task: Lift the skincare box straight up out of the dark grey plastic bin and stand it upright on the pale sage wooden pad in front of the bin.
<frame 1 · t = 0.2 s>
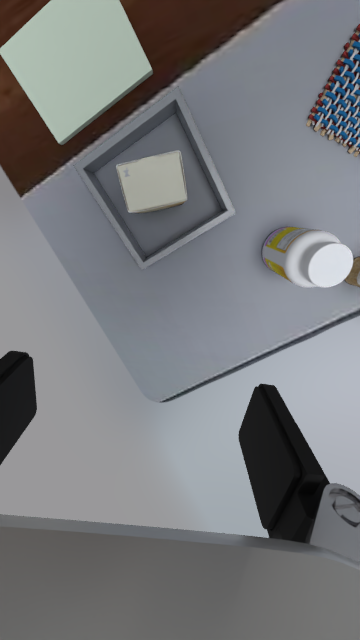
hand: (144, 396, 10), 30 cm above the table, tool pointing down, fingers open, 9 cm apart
sprinkles bottle: (356, 270, 39), on the table
woven mat: (359, 101, 31), on the table
skincare box: (159, 192, 35), resting in bin
bin: (159, 192, 34), on the table
pad: (79, 64, 29), on the table
supplement bottle: (282, 249, 38), on the table
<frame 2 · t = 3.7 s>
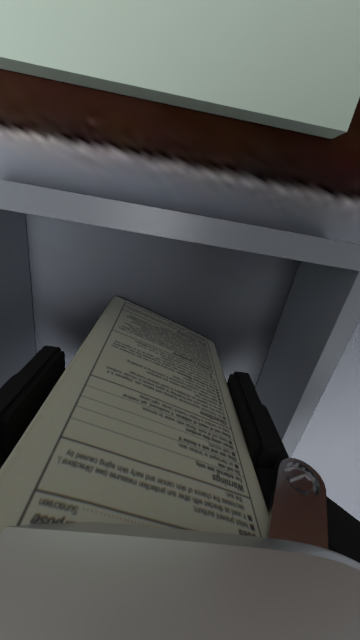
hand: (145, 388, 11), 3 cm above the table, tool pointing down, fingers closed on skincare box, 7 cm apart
skincare box: (153, 348, 14), resting in bin, touching gripper
bin: (152, 349, 14), on the table
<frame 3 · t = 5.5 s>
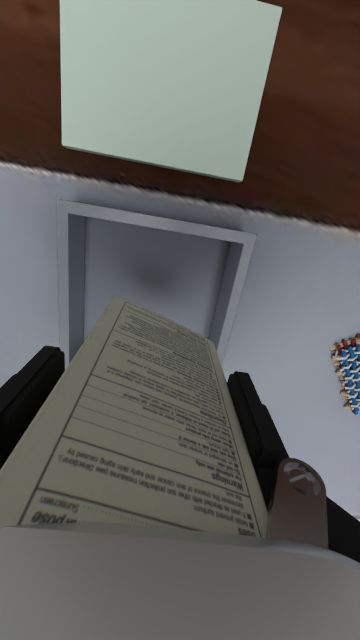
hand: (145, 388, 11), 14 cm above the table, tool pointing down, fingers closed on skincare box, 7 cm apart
skincare box: (153, 348, 14), point 11 cm above the table, touching gripper
bin: (152, 296, 24), on the table
pad: (164, 87, 18), on the table
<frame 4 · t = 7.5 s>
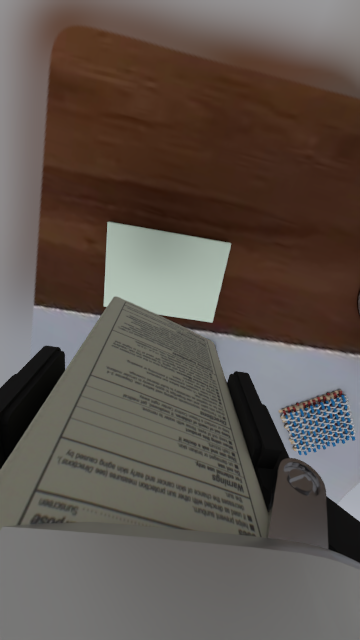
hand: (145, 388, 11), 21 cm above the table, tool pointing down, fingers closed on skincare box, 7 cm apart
woven mat: (314, 417, 41), on the table
skincare box: (153, 348, 14), point 18 cm above the table, touching gripper
pad: (164, 274, 31), on the table
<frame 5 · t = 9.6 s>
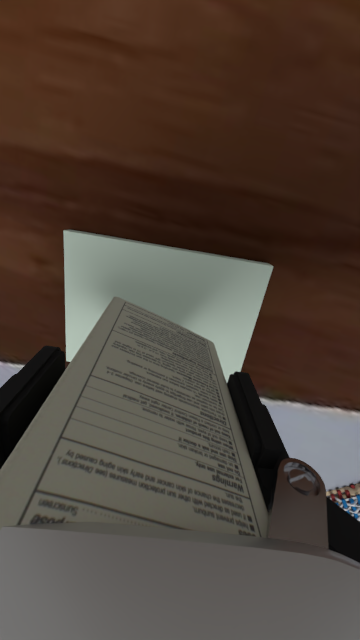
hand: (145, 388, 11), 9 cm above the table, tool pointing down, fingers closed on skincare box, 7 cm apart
skincare box: (153, 348, 14), point 5 cm above the table, touching gripper
pad: (162, 312, 19), on the table
when the fingers open (6 cm above the table, at t = 11.3 s): skincare box drops 1 cm, resting on pad.
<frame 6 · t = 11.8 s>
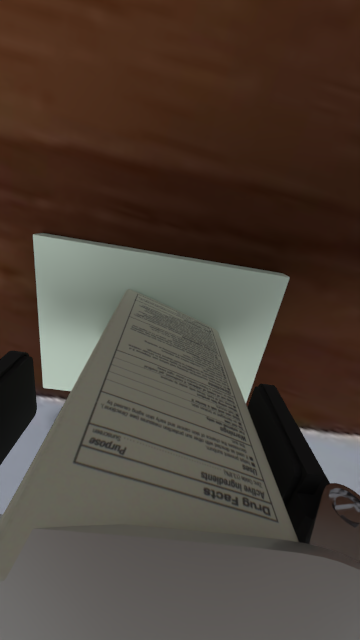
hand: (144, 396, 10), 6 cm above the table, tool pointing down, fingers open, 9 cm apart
skincare box: (162, 336, 16), point 1 cm above the table, touching pad
pad: (156, 330, 16), on the table
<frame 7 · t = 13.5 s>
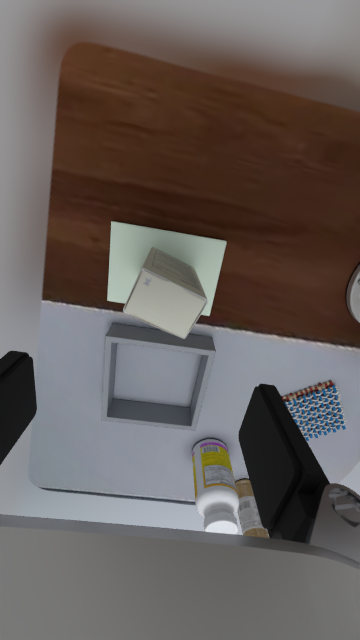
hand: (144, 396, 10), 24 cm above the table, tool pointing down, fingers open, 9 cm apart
sprinkles bottle: (243, 484, 51), on the table
woven mat: (306, 407, 43), on the table
skincare box: (167, 272, 32), point 1 cm above the table, touching pad
bin: (156, 371, 39), on the table
pad: (164, 270, 33), on the table
supplement bottle: (209, 449, 46), on the table
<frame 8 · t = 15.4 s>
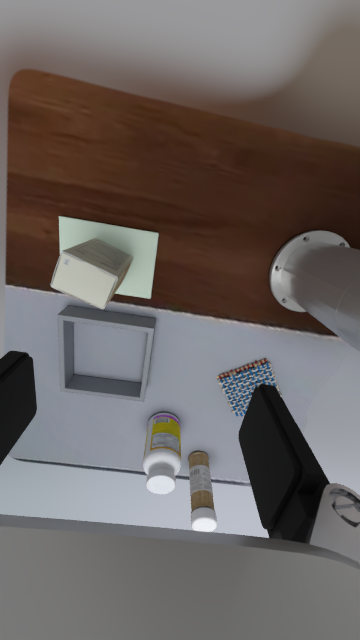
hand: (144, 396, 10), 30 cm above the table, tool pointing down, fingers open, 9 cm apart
sprinkles bottle: (198, 456, 56), on the table
woven mat: (248, 384, 49), on the table
skincare box: (111, 260, 37), point 1 cm above the table, touching pad
bin: (110, 349, 44), on the table
pad: (109, 259, 38), on the table
supplement bottle: (164, 422, 52), on the table
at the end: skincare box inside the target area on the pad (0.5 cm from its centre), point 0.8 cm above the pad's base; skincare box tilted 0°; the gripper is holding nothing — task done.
